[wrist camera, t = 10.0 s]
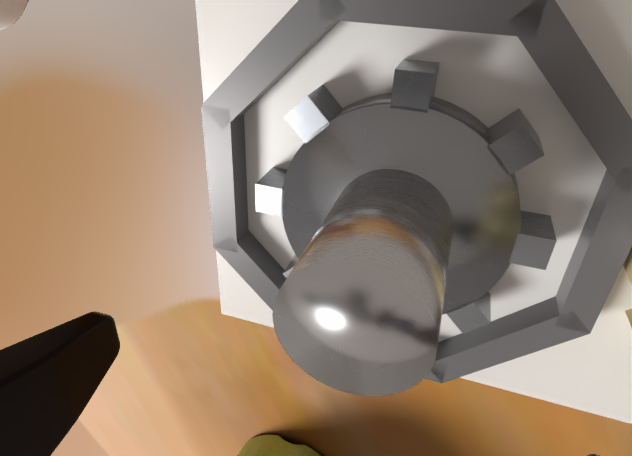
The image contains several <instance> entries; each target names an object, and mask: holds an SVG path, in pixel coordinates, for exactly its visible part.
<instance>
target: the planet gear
mask: <svg viewBox="0 0 632 456" xmlns="http://www.w3.org/2000/svg"><path fill="white" fill-rule="evenodd" d="M439 64H440V63H438V62H429V61H419V60H410V59H403V60H402V61H401V63H400V64H399V65H398V66H397V67H396V68H395V71H394V79H393V87H392V93H384V94H380V95H375V96H370V97H367V98H364V99H361V100H359V101H356V102H354V103H352V104H350V105H348V106H346V107H344V108H342V107H341V106H340V104H339V103H338V102H337V100H336V99H335V98H334V97H333V95H332V94H331V93H330V92H329V90H328V89H327V88H326V87H325V85H324V84H323V85H321V86H320V87H318V88H317V89H316V90H314V91H313V92H312V93H310V94H309V95H308V96H306V97H305V98H304V99H303V100H302V101H301V102H300V103H299V104H298V105H296V106H295V107H294V108H293V109H292V110H291V111H290V112H289V113H288V114H286V115H285V116H284V118H285V120H286V121H287V122H288V123H289V124H290V126H291V127H292V128H293V129H294V130H295V132H296V133H297V134H298V135H299V136H300V138H301V139H302V140H303V141H304V143H303V145H302V146H301V147H300V149H299V150H298V151H297V152H296V154H295V156H294V158H293V159H292V161H291V163H290V165H289V167H288V169H283V168H277V167H272V168H271V169H270V170H269V171H268V172H267V173H266V174H265V175H264V176H263V177H262V178H261V179H260V180H259V181H258V182H257V183H256V184H255V199H256V211H257V212H262V213H267V214H272V215H277V216H282V219H283V224H284V229H285V232H286V235H287V238H288V241H289V243H290V245H291V247H292V249H293V251H294V253H295V256H294V257H293V259H292V260H291V262H290V263H289V265H288V266H287V268H286V269H285V271H284V272H283V275H284V276H285V277H286V278H287V279H286V280H285V282H284V283H283V285H282V287H281V288H280V290H279V291H278V293H277V295H276V298H275V301H274V305H273V313H272V316H273V325H274V329H275V332H276V335H277V337H278V340H279V341H280V343H281V345H282V347H283V348H284V350H285V351H286V353H287V354H288V355H289V357H290V358H291V359H292V360H293V361H294V362H295V363H296V364H297V365H298V366H299V367H300V368H301V369H302V370H304V371H305V372H306V373H307V374H309V375H310V376H312V377H313V378H315V379H316V380H318V381H320V382H322V383H324V384H326V385H328V386H330V387H332V388H335V389H338V390H341V391H344V392H347V393H351V394H356V395H363V396H386V395H392V394H396V393H400V392H403V391H405V390H408V389H410V388H412V387H413V386H415V385H417V384H418V383H419V382H420V381H422V380H423V379H424V378H425V377H426V376H427V374H428V373H429V372H430V370H431V368H432V367H433V365H434V362H435V359H436V355H437V348H438V340H439V333H440V325H441V318H442V315H443V314H447V315H448V316H449V318H450V319H451V320H452V321H453V322H454V324H455V325H456V326H457V327H458V328H459V330H460V331H461V332H462V333H463V334H464V333H466V332H469V331H472V330H474V329H477V328H479V327H482V326H484V325H487V324H489V323H491V303H490V293H489V292H488V291H489V290H490V289H491V288H492V287H494V286H495V285H496V283H497V282H498V281H499V280H500V279H501V277H502V276H503V275H504V274H505V272H506V270H507V269H508V267H509V266H510V264H511V263H513V264H518V265H523V266H527V267H532V268H537V269H542V270H546V268H547V265H548V263H549V260H550V257H551V255H552V252H553V249H554V247H555V244H556V241H557V240H556V236H555V232H554V228H553V223H552V219H551V216H550V215H544V214H538V213H533V212H527V211H521V210H520V200H519V193H518V185H517V180H516V176H515V172H516V171H518V170H520V169H521V168H523V167H525V166H527V165H528V164H530V163H532V162H534V161H535V160H537V159H539V158H541V157H542V156H544V152H543V148H542V145H541V141H540V138H539V136H538V134H537V133H536V131H535V130H534V129H533V127H532V126H531V124H530V123H529V121H528V120H527V119H526V117H525V116H524V114H523V113H522V111H521V110H520V109H517V110H516V111H514V112H513V113H511V114H510V115H508V116H506V117H505V118H503V119H502V120H500V121H499V122H497V123H496V124H494V125H493V126H491V127H489V128H488V127H487V126H486V125H484V124H483V123H482V122H481V121H480V120H479V119H478V118H476V117H475V116H473V115H472V114H470V113H469V112H467V111H466V110H464V109H463V108H461V107H459V106H457V105H455V104H453V103H451V102H448V101H445V100H442V99H439V98H436V97H434V93H435V87H436V81H437V76H438V70H439Z"/></svg>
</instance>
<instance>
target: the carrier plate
mask: <svg viewBox="0 0 632 456" xmlns="http://www.w3.org/2000/svg"><path fill="white" fill-rule="evenodd" d="M195 3H196V15H197V26H198V38H199V50H200V62H201V75H202V87H203V98H204V103H203V104H202V105H201V109H202V122H203V133H204V143H205V156H206V167H207V179H208V191H209V202H210V214H211V225H212V237H213V247H214V248H215V249H216V253H217V265H218V277H219V290H220V302H221V314H225V315H229V316H233V317H236V318H240V319H244V320H247V321H251V322H255V323H259V324H262V325H266V326H270V327H273V328H274V325H273V316H272V313H273V305H274V301H275V298H276V295H277V293H278V291H279V290H280V288H281V287H282V285H283V283H284V282H285V280H286V279H287V278H286V277H285V276H284V275H283V272H284V271H285V269H286V268H287V266H288V265H289V263H290V262H291V260H292V259H293V257H294V256H295V253H294V251H293V249H292V247H291V245H290V243H289V241H288V238H287V235H286V232H285V229H284V224H283V219H282V216H277V215H272V214H267V213H262V212H257V211H256V199H255V184H256V183H257V182H258V181H259V180H260V179H261V178H262V177H263V176H264V175H265V174H266V173H267V172H268V171H269V170H270V169H271V168H272V167H277V168H283V169H288V167H289V165H290V163H291V161H292V159H293V158H294V156H295V154H296V152H297V151H298V150H299V149H300V147H301V146H302V145H303V143H304V141H303V140H302V139H301V138H300V136H299V135H298V134H297V133H296V132H295V130H294V129H293V128H292V127H291V126H290V124H289V123H288V122H287V121H286V120H285V118H284V116H285V115H286V114H288V113H289V112H290V111H291V110H292V109H293V108H294V107H295V106H296V105H298V104H299V103H300V102H301V101H302V100H303V99H304V98H305V97H306V96H308V95H309V94H310V93H312V92H313V91H314V90H316V89H317V88H318V87H320V86H321V85H323V84H324V85H325V87H326V88H327V89H328V90H329V92H330V93H331V94H332V95H333V97H334V98H335V99H336V100H337V102H338V103H339V104H340V106H341V107H342V108H344V107H346V106H348V105H350V104H352V103H354V102H356V101H359V100H361V99H364V98H367V97H370V96H375V95H380V94H384V93H392V87H393V79H394V71H395V68H396V67H397V66H398V65H399V64H400V63H401V61H402V60H403V59H410V60H419V61H429V62H438V63H440V64H439V70H438V76H437V81H436V87H435V93H434V97H436V98H439V99H442V100H445V101H448V102H451V103H453V104H455V105H457V106H459V107H461V108H463V109H464V110H466V111H467V112H469V113H470V114H472V115H473V116H475V117H476V118H478V119H479V120H480V121H481V122H482V123H483V124H484V125H486V126H487V127H488V128H489V127H491V126H493V125H494V124H496V123H497V122H499V121H500V120H502V119H503V118H505V117H506V116H508V115H510V114H511V113H513V112H514V111H516V110H517V109H520V110H521V111H522V113H523V114H524V116H525V117H526V119H527V120H528V121H529V123H530V124H531V126H532V127H533V129H534V130H535V131H536V133H537V134H538V136H539V138H540V141H541V145H542V148H543V152H544V156H542V157H541V158H539V159H537V160H535V161H534V162H532V163H530V164H528V165H527V166H525V167H523V168H521V169H520V170H518V171H516V172H515V176H516V180H517V185H518V193H519V200H520V210H521V211H527V212H533V213H538V214H544V215H550V216H551V219H552V223H553V228H554V232H555V236H556V240H557V241H556V244H555V247H554V249H553V252H552V255H551V257H550V260H549V263H548V265H547V268H546V270H542V269H537V268H532V267H527V266H523V265H518V264H513V263H511V264H510V266H509V267H508V269H507V270H506V272H505V274H504V275H503V276H502V277H501V279H500V280H499V281H498V282H497V283H496V285H495V286H494V287H492V288H491V289H490V290H489V291H488V292H489V293H490V303H491V323H489V324H487V325H484V326H482V327H479V328H477V329H474V330H472V331H469V332H466V333H464V334H463V333H462V332H461V331H460V330H459V328H458V327H457V326H456V325H455V324H454V322H453V321H452V320H451V319H450V318H449V316H448V315H447V314H443V315H442V318H441V325H440V333H439V340H438V348H437V355H436V359H435V362H434V365H433V367H432V368H431V370H430V372H429V373H428V374H427V376H426V377H425V378H424V379H428V380H432V381H435V382H439V383H444V382H447V381H450V380H453V379H456V378H463V379H467V380H471V381H474V382H478V383H482V384H485V385H489V386H493V387H497V388H500V389H504V390H508V391H511V392H515V393H519V394H523V395H526V396H530V397H534V398H538V399H541V400H545V401H549V402H552V403H556V404H560V405H564V406H567V407H571V408H575V409H578V410H582V411H586V412H590V413H593V414H597V415H601V416H604V417H608V418H612V419H616V420H619V421H623V422H627V423H631V424H632V0H195Z"/></svg>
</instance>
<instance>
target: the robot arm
mask: <svg viewBox="0 0 632 456" xmlns="http://www.w3.org/2000/svg"><path fill="white" fill-rule="evenodd" d="M119 349H120V341H119V337H118V333H117V329H116V325H115V321H114V319H113V318H112V317H111V316H110V315H107V314H103V313H100V312H90V313H87V314H85V315H83V316H80V317H78V318H76V319H73V320H71V321H68V322H66V323H64V324H61V325H59V326H56V327H54V328H52V329H49V330H47V331H45V332H42V333H40V334H38V335H35V336H33V337H30V338H28V339H25V340H23V341H21V342H18V343H16V344H14V345H11V346H9V347H6V348H4V349H2V350H0V456H51V454H52V453H53V452H54V450H55V449H56V447H57V446H58V445H59V444H60V442H61V441H62V440H63V438H64V437H65V435H66V434H67V433H68V432H69V430H70V429H71V427H72V426H73V425H74V423H75V422H76V421H77V419H78V418H79V416H80V414H81V413H82V411H83V410H84V408H85V407H86V405H87V404H88V402H89V400H90V399H91V397H92V395H93V394H94V392H95V391H96V389H97V387H98V386H99V384H100V383H101V381H102V379H103V378H104V376H105V374H106V373H107V371H108V370H109V368H110V366H111V365H112V363H113V362H114V360H115V358H116V357H117V355H118V352H119ZM587 456H600V455H596V454H589V455H587Z"/></svg>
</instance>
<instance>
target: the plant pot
mask: <svg viewBox="0 0 632 456" xmlns="http://www.w3.org/2000/svg"><path fill="white" fill-rule="evenodd" d="M237 456H321V455H320V454H318V453H317V452H316V451H314V450H313V449H311V448H310V447H308V446H306V445H303V444H302V445H295V444H291V443H289V442H287V441H285V440H283V439H282V438H281V437H280V436H278V435H260V436H257V437H254V438H252V439H251V440H249V441H248V442H247V443H246V444H245V445H244V447H243V448H242V450H241V451H240V453H239V454H238V455H237Z"/></svg>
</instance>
